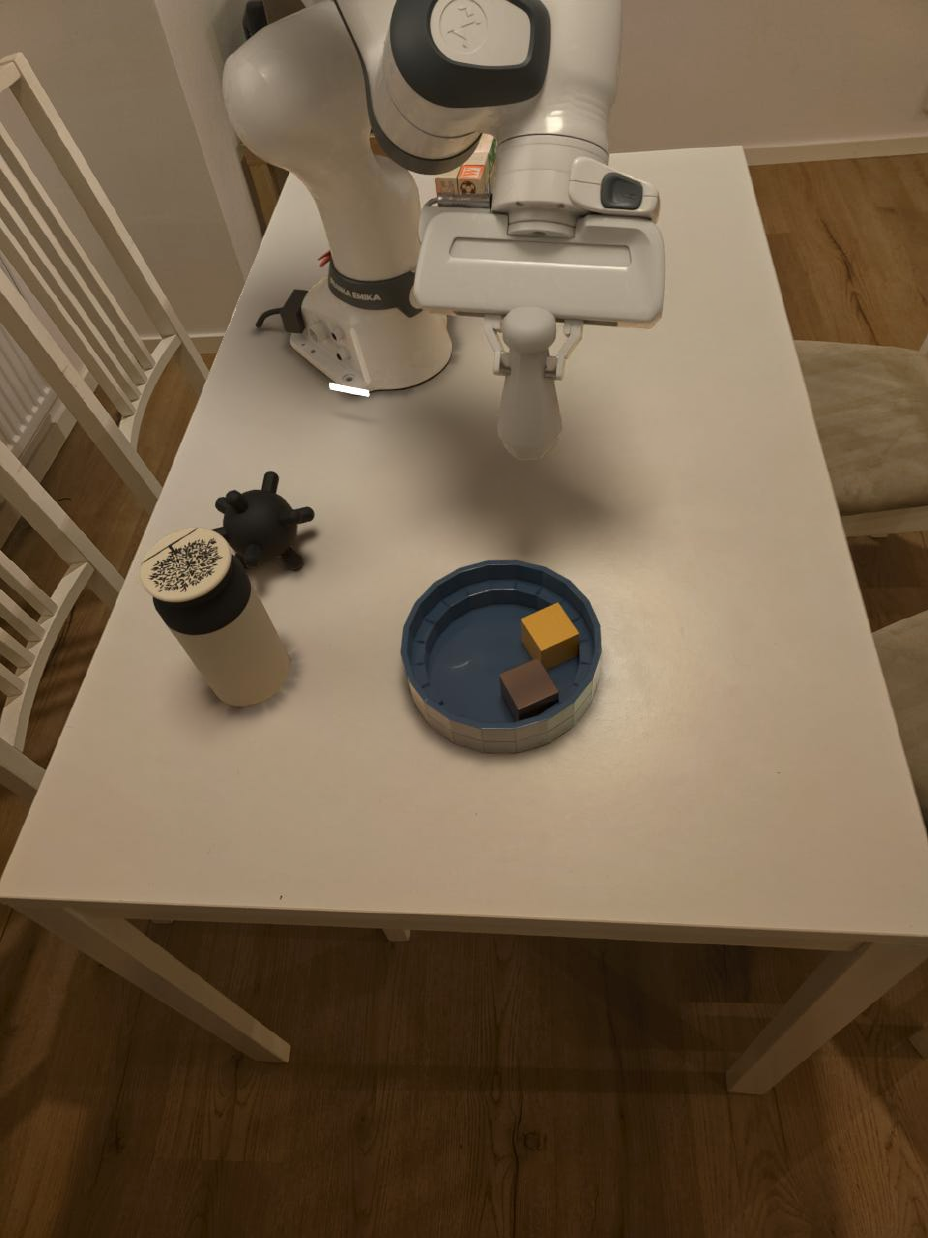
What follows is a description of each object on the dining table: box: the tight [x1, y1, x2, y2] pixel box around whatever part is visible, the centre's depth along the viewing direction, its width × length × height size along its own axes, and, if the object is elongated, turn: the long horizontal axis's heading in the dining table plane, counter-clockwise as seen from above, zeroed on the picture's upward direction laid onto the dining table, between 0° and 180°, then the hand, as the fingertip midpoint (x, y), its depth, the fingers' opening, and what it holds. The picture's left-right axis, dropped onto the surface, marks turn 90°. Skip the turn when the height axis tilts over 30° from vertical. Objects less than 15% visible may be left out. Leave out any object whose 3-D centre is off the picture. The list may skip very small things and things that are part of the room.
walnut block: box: [499, 658, 559, 722], centre depth 74 cm, size 4×4×4 cm
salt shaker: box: [496, 306, 563, 461], centre depth 68 cm, size 6×6×13 cm
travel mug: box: [139, 527, 291, 708], centre depth 73 cm, size 8×8×18 cm
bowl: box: [400, 559, 603, 754], centre depth 76 cm, size 18×18×6 cm
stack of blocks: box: [434, 133, 497, 205], centre depth 117 cm, size 21×6×12 cm, turn 168°
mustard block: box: [521, 603, 579, 670], centre depth 77 cm, size 4×4×4 cm
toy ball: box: [210, 470, 315, 570], centre depth 85 cm, size 11×11×12 cm
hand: (528, 377), depth 67 cm, fingers closed on salt shaker, 3 cm apart
